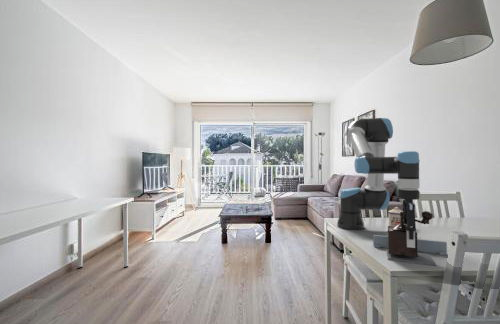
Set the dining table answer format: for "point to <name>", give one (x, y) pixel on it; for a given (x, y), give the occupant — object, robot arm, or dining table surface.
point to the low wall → (421, 245)
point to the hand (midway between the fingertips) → (408, 243)
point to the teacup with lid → (394, 216)
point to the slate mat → (413, 258)
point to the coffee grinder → (404, 237)
